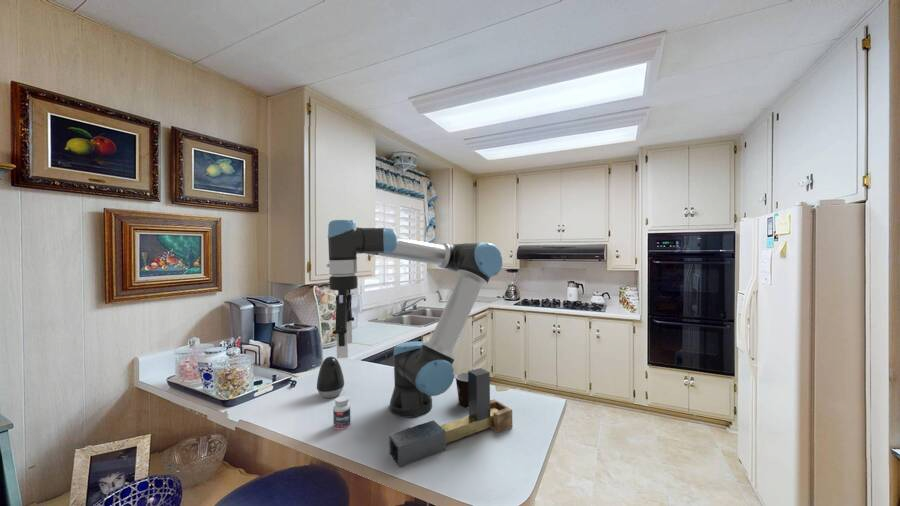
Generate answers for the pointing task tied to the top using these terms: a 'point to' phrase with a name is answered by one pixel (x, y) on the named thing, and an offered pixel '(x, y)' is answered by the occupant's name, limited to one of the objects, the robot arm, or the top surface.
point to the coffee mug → (462, 389)
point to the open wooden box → (501, 416)
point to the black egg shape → (330, 378)
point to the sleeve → (416, 443)
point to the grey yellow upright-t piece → (473, 408)
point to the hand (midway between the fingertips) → (345, 350)
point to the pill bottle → (341, 413)
